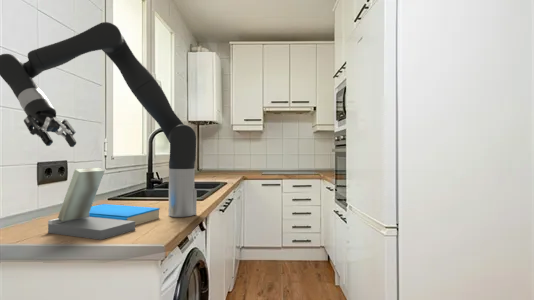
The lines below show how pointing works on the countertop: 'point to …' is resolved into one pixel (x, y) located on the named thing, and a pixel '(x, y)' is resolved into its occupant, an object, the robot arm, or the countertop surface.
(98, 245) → the countertop surface
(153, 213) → the book
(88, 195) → the silver flat block
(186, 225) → the countertop surface
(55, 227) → the board
